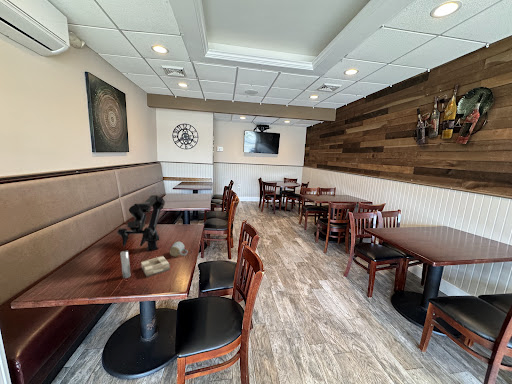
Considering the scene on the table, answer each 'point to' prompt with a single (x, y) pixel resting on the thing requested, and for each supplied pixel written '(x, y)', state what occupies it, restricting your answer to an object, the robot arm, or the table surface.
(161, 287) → the table surface
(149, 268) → the socket block
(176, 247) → the ceramic mug
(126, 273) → the steel pin
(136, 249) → the table surface
